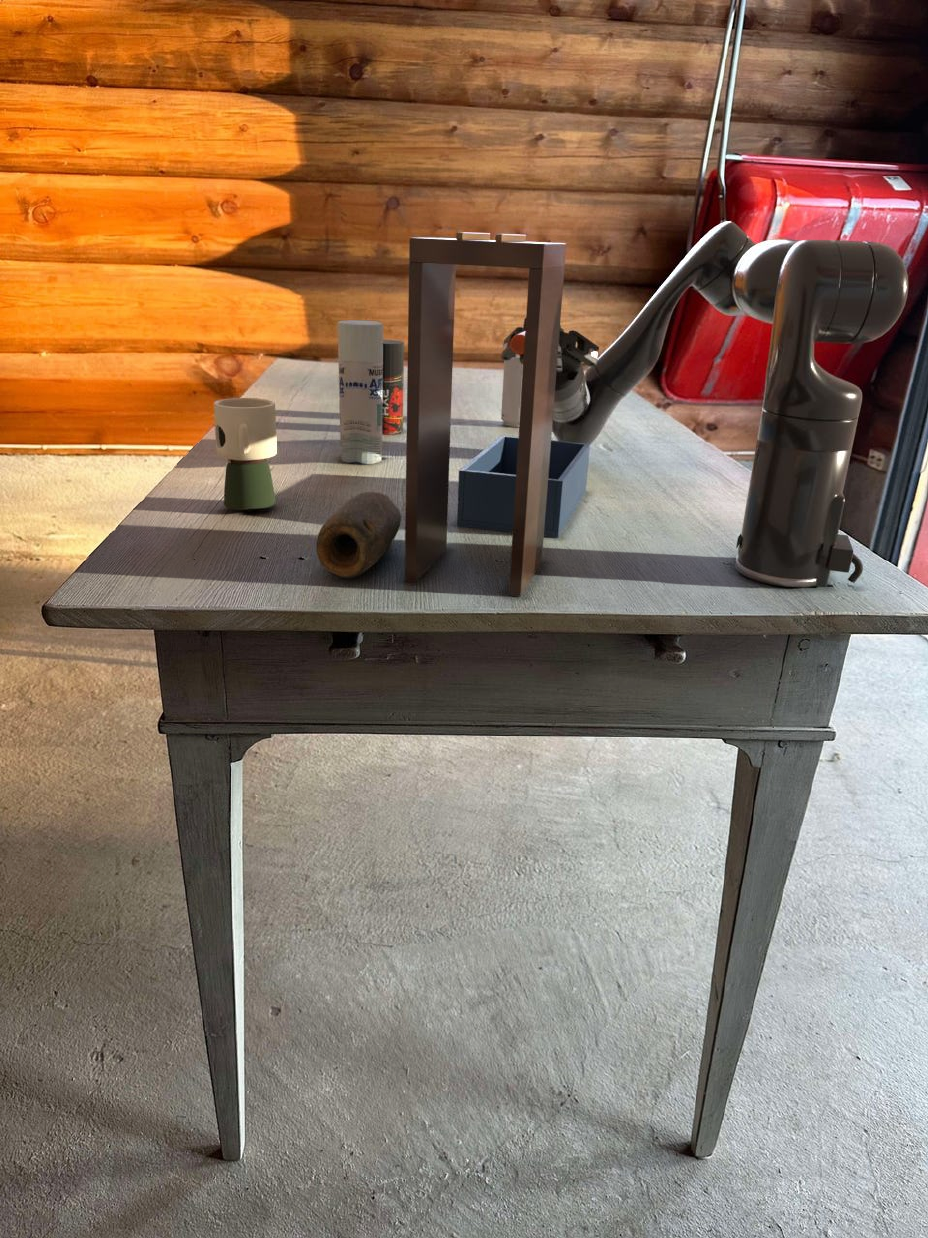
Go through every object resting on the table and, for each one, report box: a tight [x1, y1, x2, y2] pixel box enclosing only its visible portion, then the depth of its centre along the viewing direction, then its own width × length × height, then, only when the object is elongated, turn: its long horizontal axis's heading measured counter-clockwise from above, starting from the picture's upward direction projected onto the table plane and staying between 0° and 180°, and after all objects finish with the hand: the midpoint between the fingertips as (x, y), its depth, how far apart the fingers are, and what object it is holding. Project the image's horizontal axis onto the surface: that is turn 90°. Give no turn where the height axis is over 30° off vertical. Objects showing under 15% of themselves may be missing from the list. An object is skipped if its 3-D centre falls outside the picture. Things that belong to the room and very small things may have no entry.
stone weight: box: [315, 491, 402, 579], centre depth 96 cm, size 15×7×7 cm, turn 176°
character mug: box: [213, 397, 278, 513], centre depth 110 cm, size 11×7×13 cm, turn 9°
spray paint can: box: [337, 319, 384, 465], centre depth 135 cm, size 6×6×20 cm
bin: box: [456, 435, 591, 539], centre depth 117 cm, size 12×22×7 cm, turn 164°
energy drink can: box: [500, 357, 523, 428], centre depth 166 cm, size 6×6×15 cm
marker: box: [510, 331, 525, 355], centre depth 110 cm, size 17×2×2 cm, turn 164°
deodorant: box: [382, 339, 405, 435], centre depth 157 cm, size 6×6×15 cm
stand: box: [403, 231, 567, 598], centre depth 89 cm, size 12×11×33 cm
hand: (540, 322), depth 111 cm, fingers closed on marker, 2 cm apart
